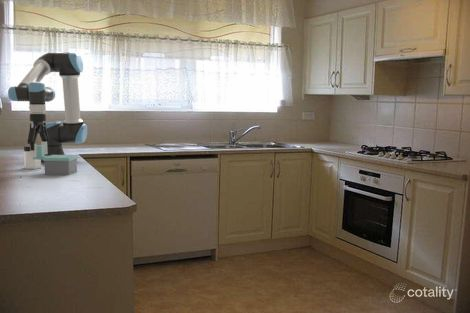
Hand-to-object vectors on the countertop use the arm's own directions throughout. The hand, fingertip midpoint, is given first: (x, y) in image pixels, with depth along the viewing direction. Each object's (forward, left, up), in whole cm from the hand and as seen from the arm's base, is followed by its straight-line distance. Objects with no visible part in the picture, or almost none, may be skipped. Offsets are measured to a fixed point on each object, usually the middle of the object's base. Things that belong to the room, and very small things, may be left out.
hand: (39, 155), depth 252 cm
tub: (0, +11, -9) cm, 14 cm away
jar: (-17, -11, -9) cm, 22 cm away
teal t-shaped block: (0, +7, -3) cm, 8 cm away
